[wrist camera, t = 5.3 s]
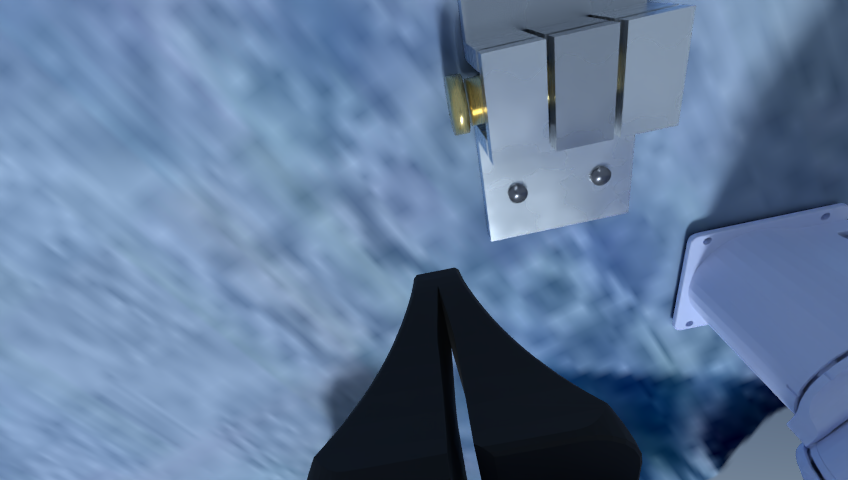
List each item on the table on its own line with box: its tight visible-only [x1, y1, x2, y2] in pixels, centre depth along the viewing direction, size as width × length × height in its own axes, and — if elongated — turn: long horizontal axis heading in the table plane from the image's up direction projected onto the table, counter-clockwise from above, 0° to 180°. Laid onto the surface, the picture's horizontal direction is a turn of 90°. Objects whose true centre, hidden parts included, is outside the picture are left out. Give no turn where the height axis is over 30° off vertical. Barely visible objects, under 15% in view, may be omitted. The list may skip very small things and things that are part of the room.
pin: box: [444, 60, 550, 135], centre depth 18 cm, size 9×2×2 cm, turn 101°
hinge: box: [458, 0, 696, 241], centre depth 18 cm, size 8×16×4 cm, turn 11°
